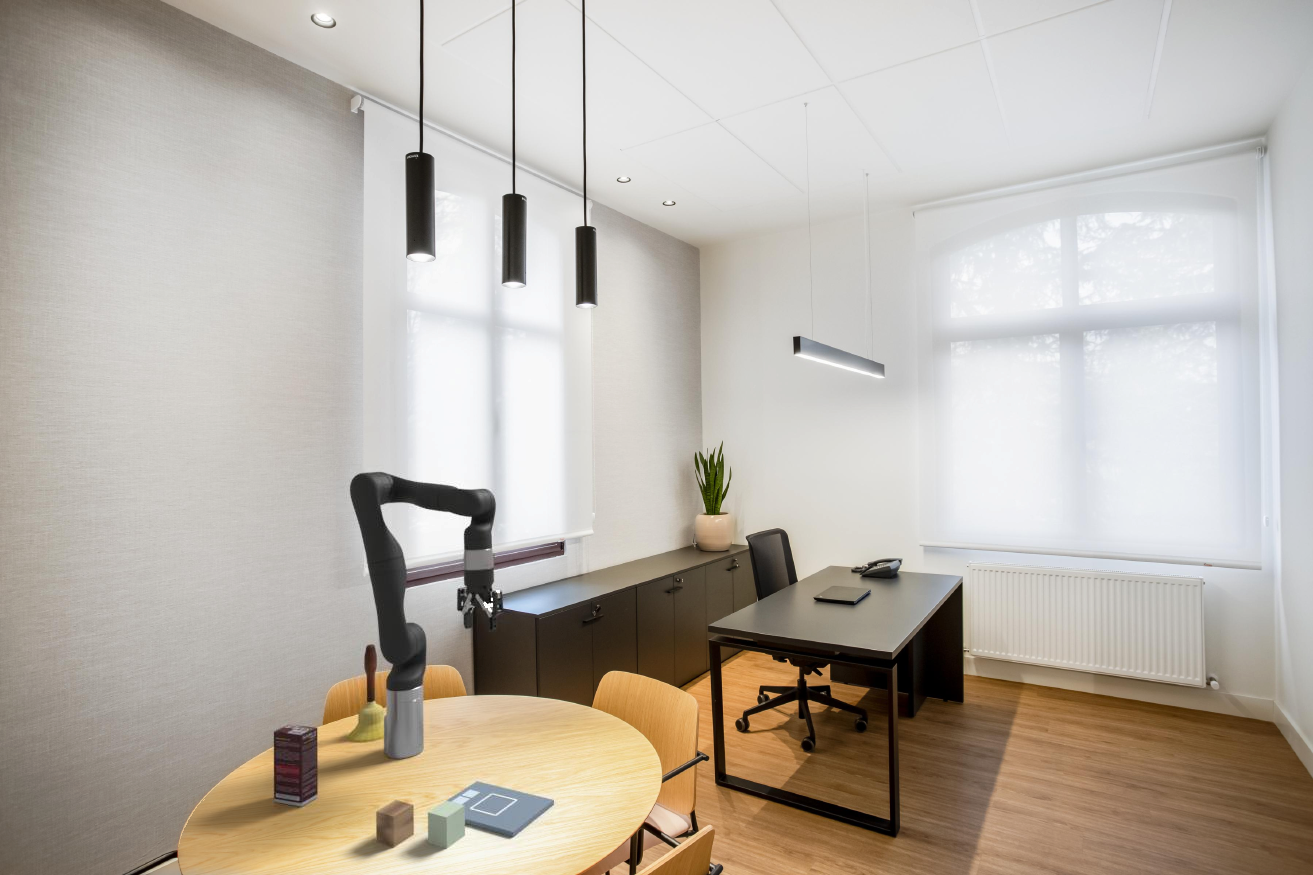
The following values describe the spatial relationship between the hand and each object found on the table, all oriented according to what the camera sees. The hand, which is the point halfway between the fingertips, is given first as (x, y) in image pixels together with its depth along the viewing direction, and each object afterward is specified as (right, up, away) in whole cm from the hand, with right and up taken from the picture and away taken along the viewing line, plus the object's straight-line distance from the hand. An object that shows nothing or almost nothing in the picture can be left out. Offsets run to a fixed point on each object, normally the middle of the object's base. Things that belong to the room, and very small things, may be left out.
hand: (480, 629), depth 169 cm
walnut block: (-8, -32, -36) cm, 49 cm away
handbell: (-36, -35, +19) cm, 54 cm away
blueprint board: (+10, -32, -26) cm, 42 cm away
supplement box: (-37, -34, -19) cm, 54 cm away
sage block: (+3, -32, -37) cm, 48 cm away
